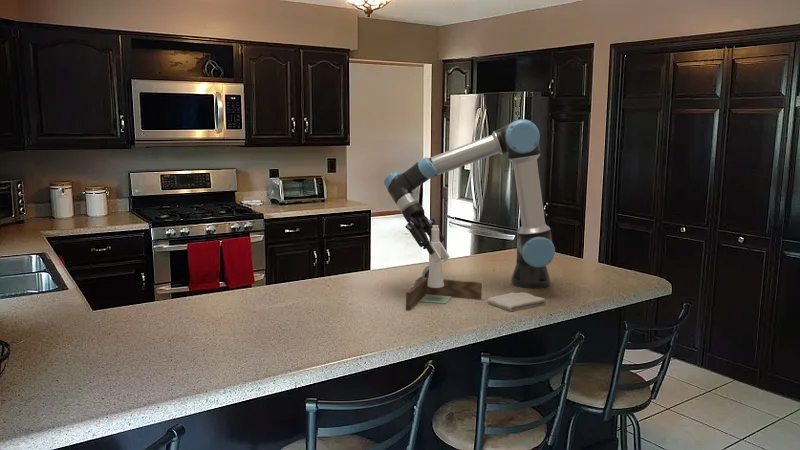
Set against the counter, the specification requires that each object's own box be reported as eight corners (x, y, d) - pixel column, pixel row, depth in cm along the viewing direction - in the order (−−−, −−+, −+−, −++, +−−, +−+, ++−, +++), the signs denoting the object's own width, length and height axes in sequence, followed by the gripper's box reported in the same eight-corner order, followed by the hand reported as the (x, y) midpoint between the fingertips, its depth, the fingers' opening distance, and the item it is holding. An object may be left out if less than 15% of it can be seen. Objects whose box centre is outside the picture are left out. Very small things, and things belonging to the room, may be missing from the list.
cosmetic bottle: (432, 288, 216) (431, 227, 212) (424, 284, 221) (423, 225, 218) (447, 286, 218) (446, 226, 215) (439, 282, 224) (438, 223, 220)
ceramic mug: (439, 281, 246) (439, 263, 245) (443, 286, 238) (443, 267, 237) (413, 282, 245) (413, 264, 244) (416, 287, 237) (415, 268, 236)
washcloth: (547, 305, 215) (547, 296, 215) (510, 313, 205) (510, 304, 205) (522, 297, 225) (523, 289, 224) (486, 305, 215) (486, 296, 214)
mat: (451, 297, 223) (451, 296, 223) (445, 304, 214) (445, 303, 214) (426, 294, 226) (426, 294, 226) (419, 301, 217) (419, 300, 217)
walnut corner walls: (481, 298, 222) (482, 282, 221) (470, 315, 201) (470, 297, 200) (423, 293, 228) (423, 277, 228) (405, 309, 207) (406, 292, 206)
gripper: (421, 213, 233) (453, 262, 223) (389, 217, 221) (420, 269, 212) (432, 200, 228) (464, 250, 219) (399, 203, 217) (432, 256, 207)
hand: (442, 259), depth 215 cm, fingers closed on cosmetic bottle, 4 cm apart
